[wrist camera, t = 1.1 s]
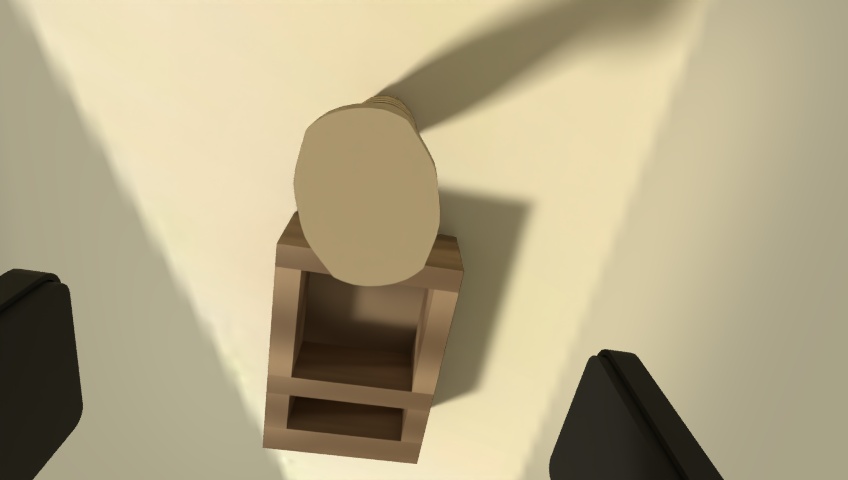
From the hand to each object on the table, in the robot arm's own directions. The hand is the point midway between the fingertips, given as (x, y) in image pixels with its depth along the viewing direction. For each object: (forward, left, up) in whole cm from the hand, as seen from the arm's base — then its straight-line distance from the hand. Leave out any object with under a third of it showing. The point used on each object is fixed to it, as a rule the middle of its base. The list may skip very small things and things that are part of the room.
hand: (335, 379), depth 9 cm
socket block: (+15, 0, -24) cm, 28 cm away
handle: (0, 0, -24) cm, 24 cm away
